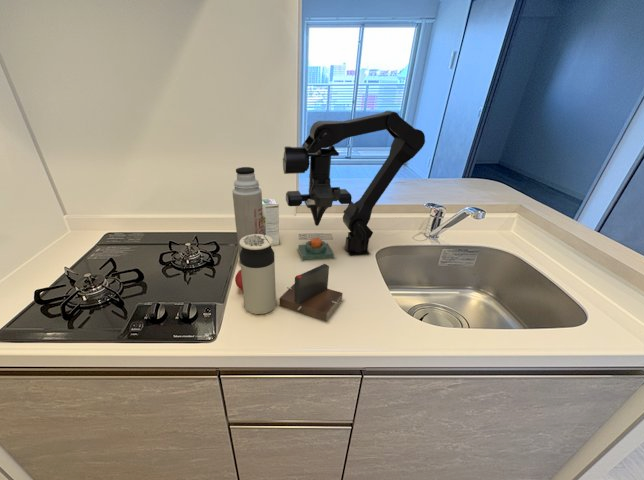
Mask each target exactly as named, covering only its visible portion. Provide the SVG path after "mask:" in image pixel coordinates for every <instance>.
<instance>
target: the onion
mask: <svg viewBox="0 0 644 480" xmlns="http://www.w3.org/2000/svg"><path fill="white" fill-rule="evenodd" d="M234 282H235V285H236V287H237V288H238V289H240V290H241V291H243V284H242V274H241V269H239V270H238V272H237V273H236V275H235V277H234Z"/></svg>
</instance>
